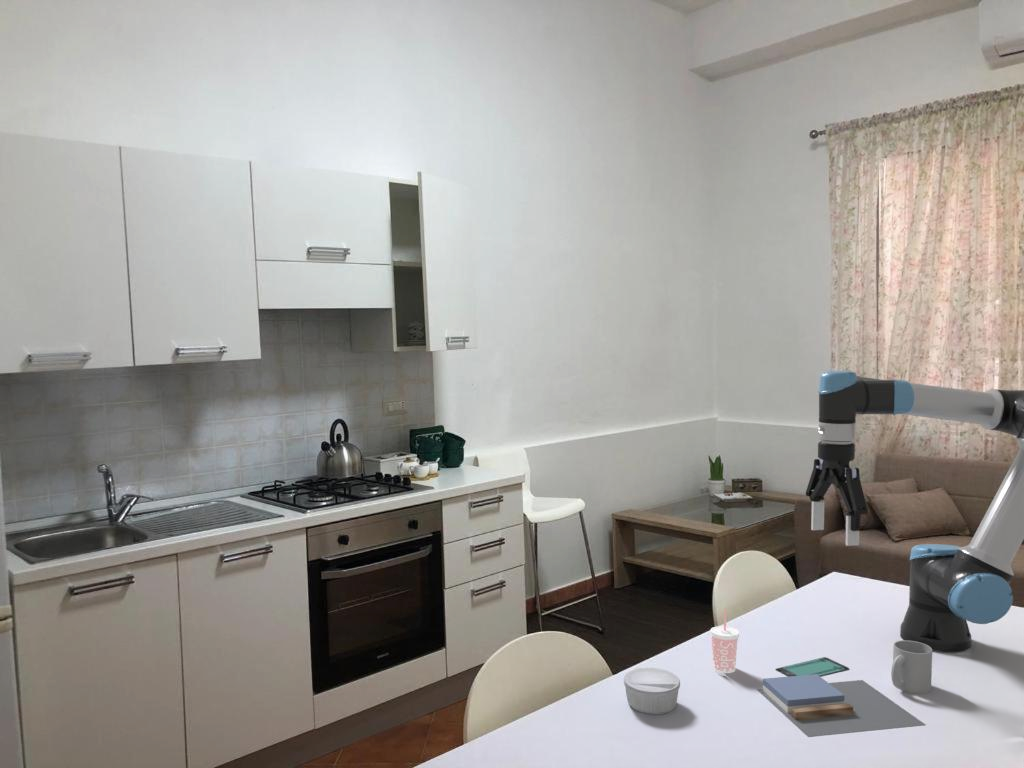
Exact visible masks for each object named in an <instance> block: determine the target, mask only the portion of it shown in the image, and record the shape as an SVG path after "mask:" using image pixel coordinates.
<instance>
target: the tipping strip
mask: <svg viewBox="0 0 1024 768" xmlns="http://www.w3.org/2000/svg"><path fill="white" fill-rule="evenodd" d="M844 715H853V706H851V705H850V704H838V705H828V706H817V707H806V708H796V709H792V712H791V717H793V718H794V719H795V720H802V719H813V718H823V717H833V716H844Z"/></svg>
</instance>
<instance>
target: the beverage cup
mask: <svg viewBox="0 0 1024 768" xmlns="http://www.w3.org/2000/svg"><path fill="white" fill-rule="evenodd" d="M710 635H711V643H712V644H711V646H712V665H713V669H712V670H713V672H714V673H715V674H717V675H720V676H727V674H731V673H734V672H735V671H736V663H737V653H738V652H737V651H738V641H739V640H738V638H739V637H740V631H739V630H738V629H736V628H735V627H731V626H727V608H726V607H725V608H723V625H720V626H714V627H711V628H710Z"/></svg>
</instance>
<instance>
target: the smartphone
mask: <svg viewBox="0 0 1024 768" xmlns="http://www.w3.org/2000/svg"><path fill="white" fill-rule="evenodd" d="M849 670H850V668H849V667H848V666H846V665H844V664H841V663H840V662H837V661H835V660H833V659H831V658H829V657H826V656H823V657H820V658H816V659H815V658H814V659H811V660H806V661H801V662H799V663H794V664H790V665H786V666H782V667H778V668H775V671H776V672H778V673H780V674H782V675H784V676H785V677H789V676H800V675H812V674H817V675H819V676H820V677H821V678H822V677H824V676H829V675H833V674H837V673H841V672H845V671H849Z"/></svg>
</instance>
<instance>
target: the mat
mask: <svg viewBox="0 0 1024 768" xmlns="http://www.w3.org/2000/svg"><path fill="white" fill-rule="evenodd" d="M828 683H829V684H830V685H832V686H833V687H834V688H836V689H837V690H838V691H840V692H841V693H842V694H844V704H850V705H851V706H853V715H844V716H833V717H823V718H813V719H802V720H795V719H794V718H793V717H791V713H787V712H786V711H785V710H784V709H783V708H782V707H780V706H779V705H778V704H777V703H776V702H775V701H774V700H773V699H772V698H770V697H769V696H768V695H767V694H766V693H765V692H764V691H763V688H758V689H756V690H757V692H759V694H761V695H762V696H763V697H764V698H765V699H766V700H767V701H768V702H769V703H771V705H773V707H775V709H777V710H778V711H779V712H780V713H782V715H783V716H784V717H786V719H788V721H790V722H791V723H792V724H793V725H794V726H796V727H797V728H798V729H799V730H800V731H801V732H802V733H803V734H804V735H806V737H808V738H811V737H821V736H831V735H839V734H840V735H842V734H848V733H849V734H851V733H861V732H869V731H881V730H892V729H899V728H900V729H901V728H908V727H909V728H910V727H911V728H912V727H921V726H926V725H927V724H925V723H924V722H923V721H921V720H920V719H919V718H917V717H916V716H914V715H913V714H912V713H910V712H909V711H908V710H906V709H904V708H902V707H901V706H900V705H899V704H897V703H896V702H894V701H893V700H891V699H890V698H889V697H888V696H886V695H885V694H883V693H881V692H880V691H878V690H877V689H876V688H874V687H873V686H871V685H870V684H869V683H867V682H866V681H865V680H863V679H859V680H848V681H847V680H846V681H835V682H828Z"/></svg>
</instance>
